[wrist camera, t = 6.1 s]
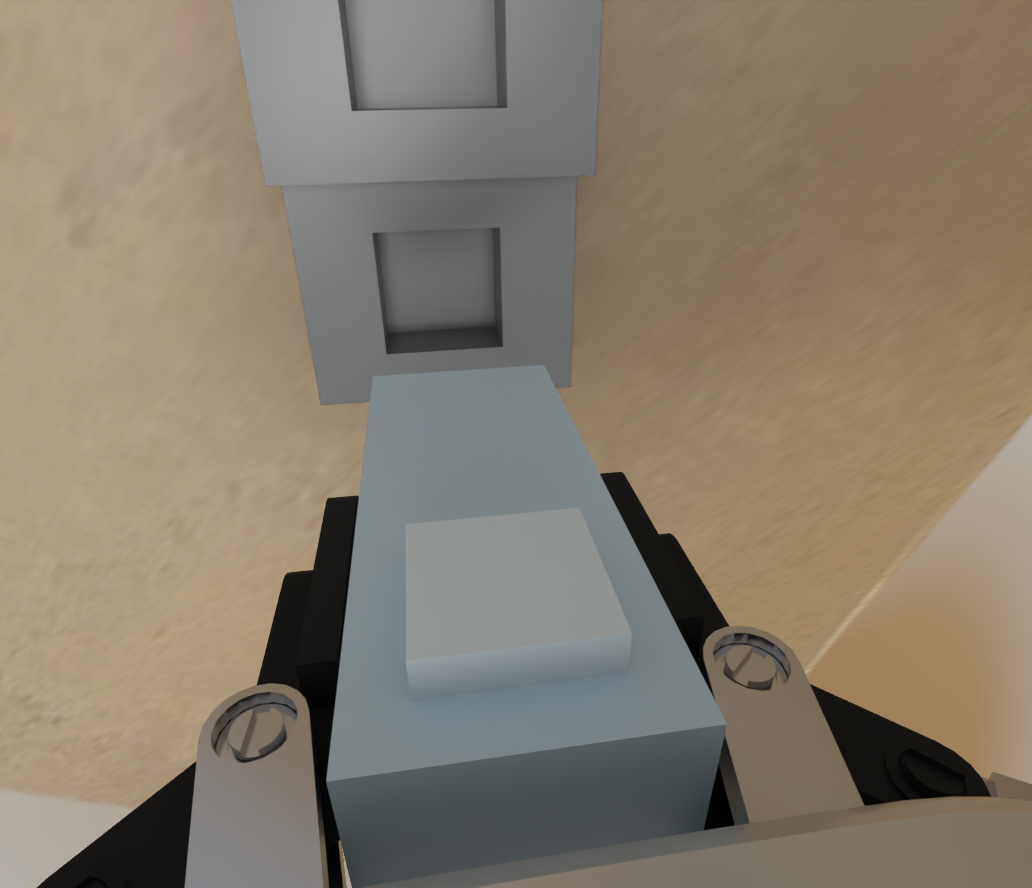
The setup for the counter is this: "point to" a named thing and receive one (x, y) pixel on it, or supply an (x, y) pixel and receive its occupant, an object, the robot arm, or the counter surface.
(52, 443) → the counter surface
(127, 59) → the counter surface
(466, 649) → the plug
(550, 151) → the socket panel
